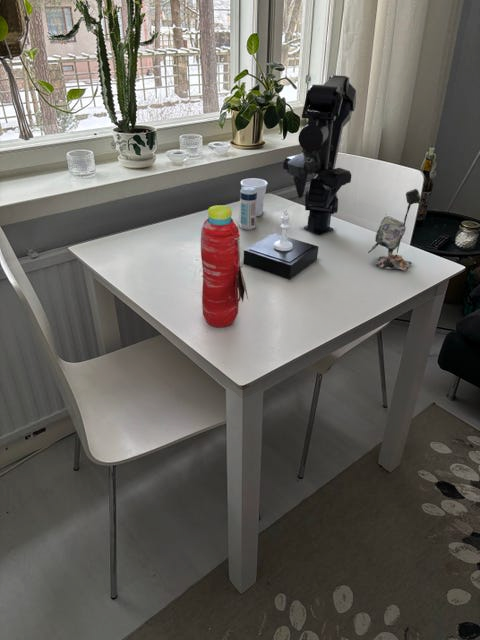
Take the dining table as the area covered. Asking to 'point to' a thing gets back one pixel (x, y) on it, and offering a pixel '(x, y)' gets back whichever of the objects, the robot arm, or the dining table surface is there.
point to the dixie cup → (260, 189)
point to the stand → (280, 256)
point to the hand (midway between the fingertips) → (312, 202)
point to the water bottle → (221, 267)
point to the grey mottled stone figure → (394, 236)
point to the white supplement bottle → (248, 207)
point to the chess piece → (284, 235)
